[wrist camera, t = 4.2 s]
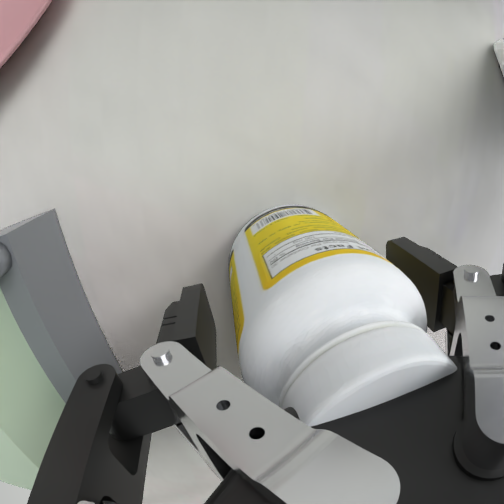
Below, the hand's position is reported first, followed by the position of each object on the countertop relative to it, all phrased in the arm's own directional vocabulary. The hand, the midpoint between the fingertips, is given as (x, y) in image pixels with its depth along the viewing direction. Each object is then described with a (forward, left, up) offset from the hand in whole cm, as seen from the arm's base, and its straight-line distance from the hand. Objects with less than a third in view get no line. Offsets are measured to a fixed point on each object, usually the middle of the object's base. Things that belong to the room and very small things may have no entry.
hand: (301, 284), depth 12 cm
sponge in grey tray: (+16, +1, -2) cm, 16 cm away
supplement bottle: (0, 0, -3) cm, 3 cm away
